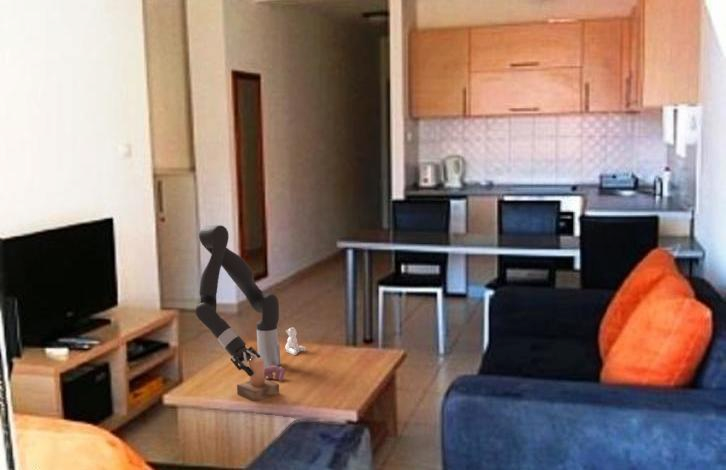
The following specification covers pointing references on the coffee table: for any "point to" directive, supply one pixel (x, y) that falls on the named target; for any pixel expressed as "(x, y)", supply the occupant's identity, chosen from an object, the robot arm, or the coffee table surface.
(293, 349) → the seated beast figurine
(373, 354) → the coffee table surface
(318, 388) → the coffee table surface
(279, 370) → the pink gamepad
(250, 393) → the walnut block
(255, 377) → the peach orange capsule
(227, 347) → the robot arm
